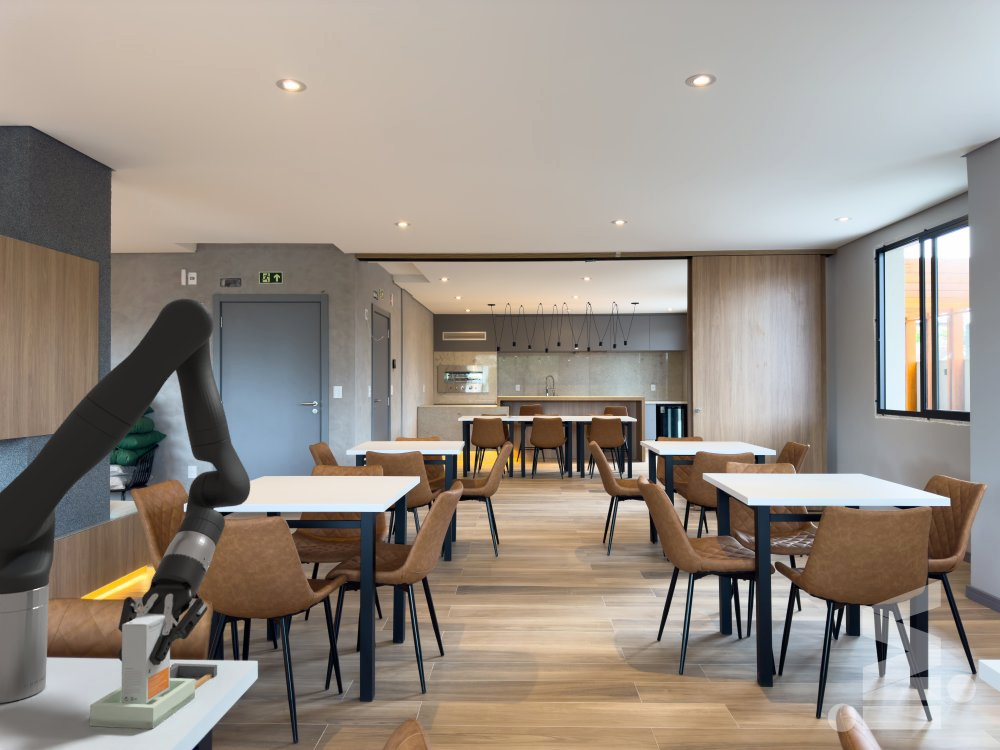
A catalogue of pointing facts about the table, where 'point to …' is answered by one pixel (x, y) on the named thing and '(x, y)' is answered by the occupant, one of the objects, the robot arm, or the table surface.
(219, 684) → the table surface
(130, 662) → the skincare box
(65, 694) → the table surface
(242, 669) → the table surface
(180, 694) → the parts tray
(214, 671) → the grey shallow square tray
